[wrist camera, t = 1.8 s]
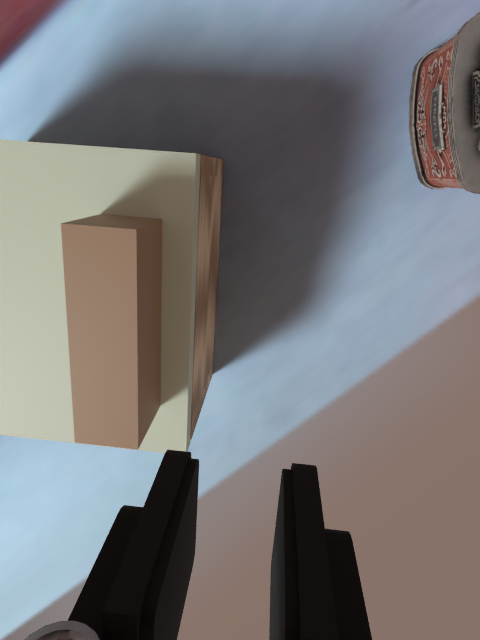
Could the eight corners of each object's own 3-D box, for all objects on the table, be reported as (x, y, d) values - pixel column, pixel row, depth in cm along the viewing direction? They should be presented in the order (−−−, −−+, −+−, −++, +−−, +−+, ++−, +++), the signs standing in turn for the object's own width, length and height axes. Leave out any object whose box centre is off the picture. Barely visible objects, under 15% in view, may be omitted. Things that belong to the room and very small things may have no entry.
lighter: (404, 57, 27) (473, -4, 17) (463, 45, 26) (565, -25, 17) (412, 193, 29) (475, 203, 20) (465, 183, 29) (556, 189, 19)
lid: (-82, 134, 22) (-188, 123, 17) (200, 154, 21) (176, 148, 16) (-37, 418, 27) (-108, 473, 22) (190, 442, 26) (169, 506, 21)
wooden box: (22, 145, 30) (-77, 135, 22) (223, 159, 30) (201, 154, 21) (41, 357, 36) (-34, 415, 27) (212, 374, 35) (191, 439, 26)
